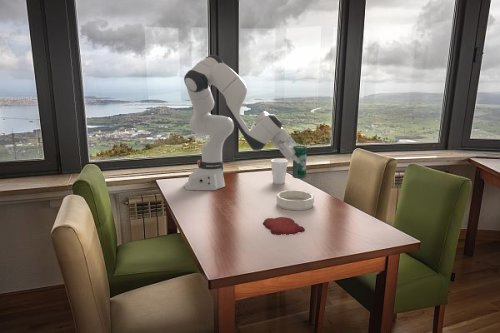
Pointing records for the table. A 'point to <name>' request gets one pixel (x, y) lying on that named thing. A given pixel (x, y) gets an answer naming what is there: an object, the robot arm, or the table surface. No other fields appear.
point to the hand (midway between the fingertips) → (300, 160)
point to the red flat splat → (282, 226)
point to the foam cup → (279, 170)
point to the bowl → (295, 200)
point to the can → (300, 168)
